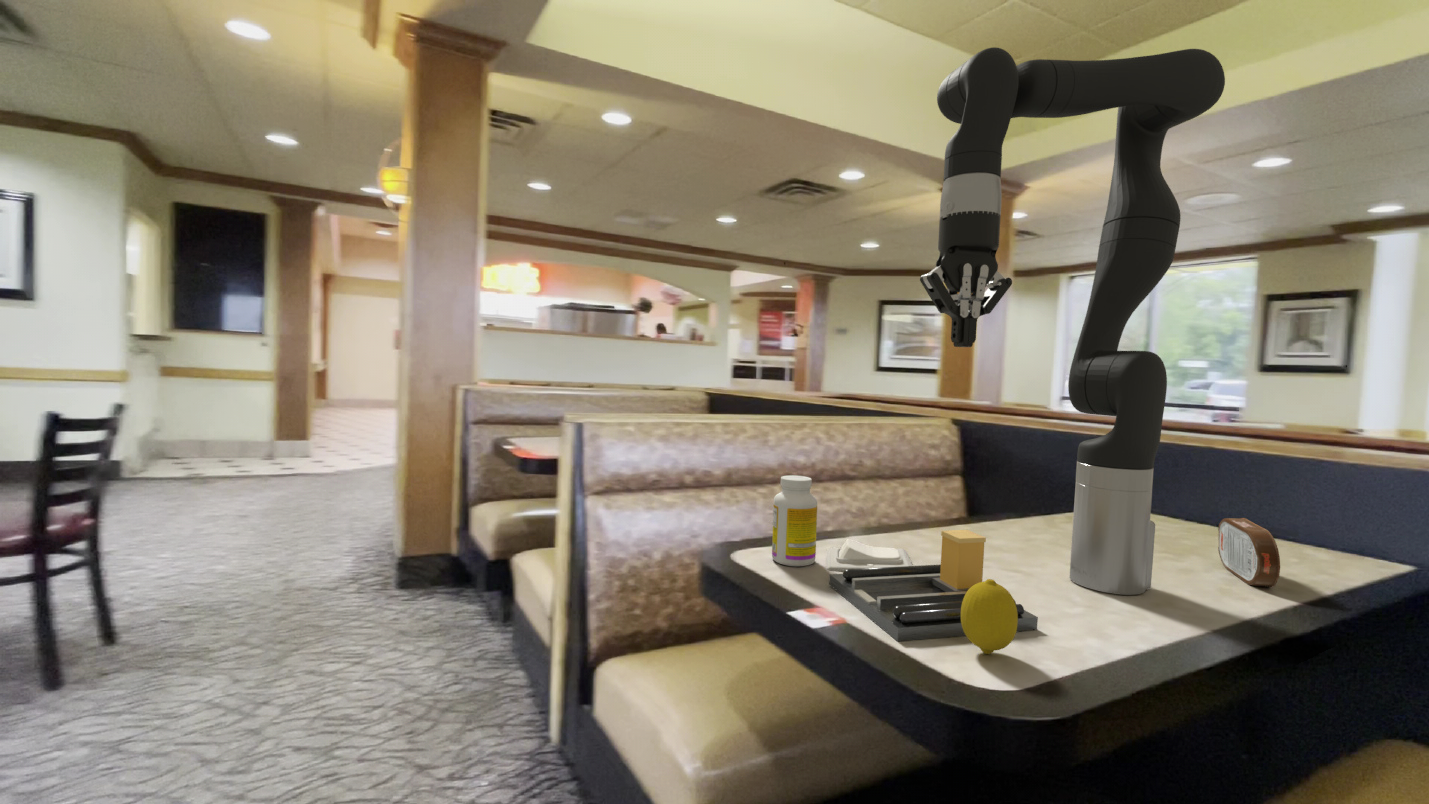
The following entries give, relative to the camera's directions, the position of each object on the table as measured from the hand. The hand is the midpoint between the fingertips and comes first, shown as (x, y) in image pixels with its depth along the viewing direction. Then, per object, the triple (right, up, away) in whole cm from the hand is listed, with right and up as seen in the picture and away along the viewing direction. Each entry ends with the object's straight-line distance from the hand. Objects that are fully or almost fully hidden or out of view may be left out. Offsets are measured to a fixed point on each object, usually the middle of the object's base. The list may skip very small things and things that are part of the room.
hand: (962, 346), depth 85 cm
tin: (+47, -34, +11) cm, 59 cm away
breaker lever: (-2, -31, -3) cm, 32 cm away
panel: (-7, -33, -5) cm, 34 cm away
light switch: (-10, -33, +13) cm, 37 cm away
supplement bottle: (-21, -32, +12) cm, 40 cm away
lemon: (-4, -34, -18) cm, 39 cm away
